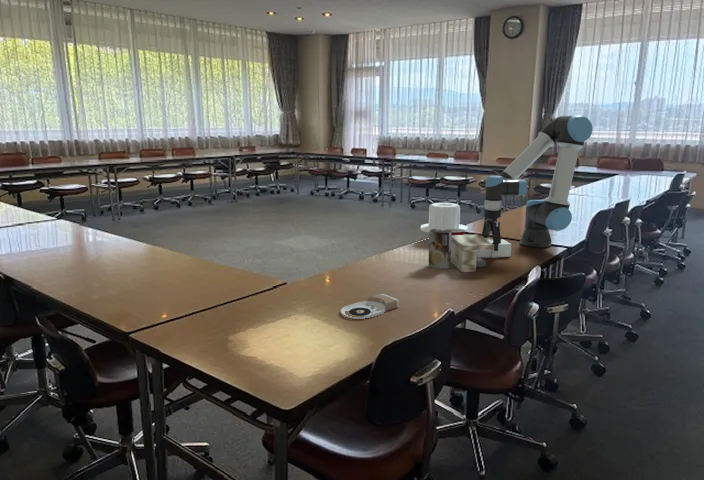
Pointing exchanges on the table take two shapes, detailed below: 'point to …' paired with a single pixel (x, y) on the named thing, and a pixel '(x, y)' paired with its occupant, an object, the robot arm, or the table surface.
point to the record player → (371, 306)
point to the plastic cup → (457, 231)
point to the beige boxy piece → (468, 251)
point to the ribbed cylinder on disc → (443, 217)
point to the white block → (503, 250)
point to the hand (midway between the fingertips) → (490, 254)
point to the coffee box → (440, 248)
